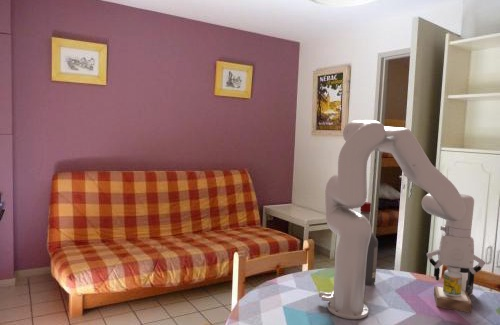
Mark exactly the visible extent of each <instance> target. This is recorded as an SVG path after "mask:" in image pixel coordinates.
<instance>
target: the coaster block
mask: <svg viewBox="0 0 500 325" xmlns="http://www.w3.org/2000/svg"><path fill="white" fill-rule="evenodd" d="M433 296H434V302H435V306H436V307H439V308H443V309H448V310H454V311H461V312H466V313H470V314H471V313H472V301H471V299H470V296H468V294H467V292H466V291H461V295H460V296H458V297H454V296H449V295H447V294H445V293H444V292H443V286H442V287H441V286H436V285H434V290H433Z"/></svg>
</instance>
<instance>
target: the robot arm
mask: <svg viewBox="0 0 500 325" xmlns="http://www.w3.org/2000/svg"><path fill="white" fill-rule="evenodd" d="M342 137H343V139H344V143H343V145H342V147H341V148H340V151H339V155H338V161H337V173H336V174H334V175H332V176H331V177H330V178H329V179H328V180H327V183H326V185H325V193H324V194H325V198H324V199H325V220H326V225H327V226H328V228H329V230H330V231H331V232H333V233H334V234H335V235H337V236H338V237H339V239H338V243H337V246H336V247H335V248H336V249H335V255H334V271H333V272H334V273H333V276H334V277H333V288H332V289H333V290H332V292H331V291H329V292H325V291H323V290H322V291H321V290H320V291H319V294H318V297H319V298H320V299H321V301H324V302H327V307H326V308H327V310H328V311H329V312H330V313H332V314H333V315H334V316H335V317H336V316H337V317H338V318H342V319H345V320H346V319H347V320H360V319H364V318H366V317H367V316H368V315H369V308H368V307H367V306H368V305H366V304H365V290H366V289H365V288H366V286H365V277H366V262H367V251H368V246H369V242H370V238H371V233H373V231H372V230H373V229H372V225H371V224H372V223H371V222H369V221H368V219H367V218H366V217H365V216H364V215H362V214H361V212H358V211H356V210H354V209H359V208H361V206H363V205H364V203H365V202H367V198H368V197H367V195H368V183H367V182H368V181H367V180H368V179H367V178H368V176H367V174H368V173H367V172H368V170H367V168H368V160H369V157H370V156H371V154H372V153H373V152H374V151H375V152H381V153H386V154H391V155H392V157H393V158H394V160H395V162H396V163H397V164H398V166H399V167H400V169H401V171H402V173H403V174H404V176H405V177H406V178H407V179H408V180H409V181H410V182H412V184H414V185H415V186H417V187H419V188H420V189H422V190H423V191H425V192H426V193H427V194H425V195H424V196H423V197H422V199H421V207H422V209H423V210H424V212H426V213H427V214H429V215H432V216H433V217H438V218H441V219H443V220H445V224H444V225H441V226H440V231H442V232H443V233H442V234H441V238H440V242H439V247H438V249H435V250H433V251H429V252H427V253H426V257H427V259H428V261H429V263H430V264H431V265H432V266H433V277H435V279H436V281H439V279H440V273H441V269H440V267H441V266H446V267H447V266H453V267H459V268H467V269H469V271H468V278H467V283H468V285H469V286H471V283H473V282H475V275H476V274H477V273H478V272H480V271H481V270H482V268H483V267H484V266H485V265H486V261H485V260H483V259H481V258H480V257H479V256H476V255H475V241H474V238H473V237H472V236H471V235H472V229H473V228H472V226H473V219H474V206H475V199H474V197H473V196H471V195H469V194H463V193H460V191H459V190H458V189H457V187H456V186H455V185H454V184H453V183H452V181H450V180H449V178H448V177H447V176H445V175H444V173H443V172H441V171H440V170H439V169H438V168H437V167H435V165H433V164H432V162H431V160H430V159H429V157H428V156H427V154H426V152H425V151H424V149H423V148H422V146H421V144H420V143H419V141H418V139H417V137H416V136H415V134H414V133H413V131H412V130H410V129H408V128H406V127H398V126H397V127H396V126H385V125H384V124H383V123H381V122H379V121H378V120H372V119H369V120H368V119H364V120H363V119H362V120H361V119H356V120H355V119H354V120H352V121H350V122H348V123H347V124H346V125H345V126H344V128H343V130H342ZM434 256H437V258H438V259H437V260H435V259H434V258H433V257H434ZM474 262H477V265H475V266H474ZM473 284H474V283H473Z"/></svg>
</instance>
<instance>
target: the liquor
mask: <svg viewBox="0 0 500 325" xmlns="http://www.w3.org/2000/svg"><path fill="white" fill-rule="evenodd" d="M371 211H372V203H371V202H369V201H365V203H364V205H363V206H361V207H360V214H362V215H364V216H365V217H366V218H367V219H368V221H369V222H370V220H371V219H370V218H371ZM370 223H371V222H370ZM378 247H379V240H378V238H377V237H376V236H375V233H373V232H372V233H371V238H370V242H369V246H368V251H367V262H366V277H365V287H367V286H368V287H369V286H370V287H371V286H373V285H374V284H375V282H376V276H377V264H378V263H377V261H378V249H379V248H378Z"/></svg>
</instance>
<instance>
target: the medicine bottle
mask: <svg viewBox="0 0 500 325" xmlns="http://www.w3.org/2000/svg"><path fill="white" fill-rule="evenodd" d="M468 271H469V269H467V268H461V269H460V273H461V274H462V286H461V291H466V292H467V294H468V296H469V297H470V296H472V295H473V294H474V293H473V291H474V282H475V281H474V282H473V283H471V286H469V285H468V283H467V278H468Z"/></svg>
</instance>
